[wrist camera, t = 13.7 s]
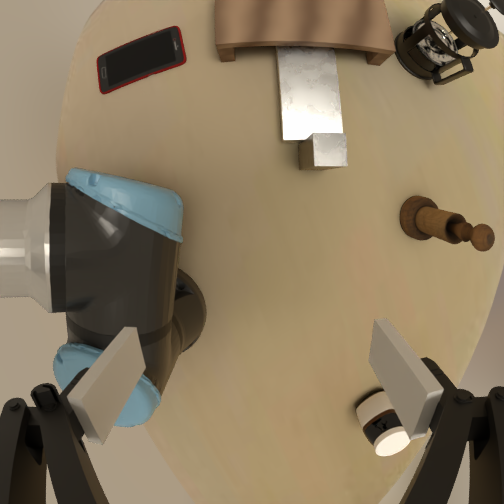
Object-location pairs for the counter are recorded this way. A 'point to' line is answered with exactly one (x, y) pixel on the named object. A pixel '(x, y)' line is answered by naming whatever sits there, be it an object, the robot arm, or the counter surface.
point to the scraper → (311, 105)
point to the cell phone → (140, 59)
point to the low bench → (304, 25)
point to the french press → (448, 38)
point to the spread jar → (382, 424)
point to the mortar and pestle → (442, 224)
